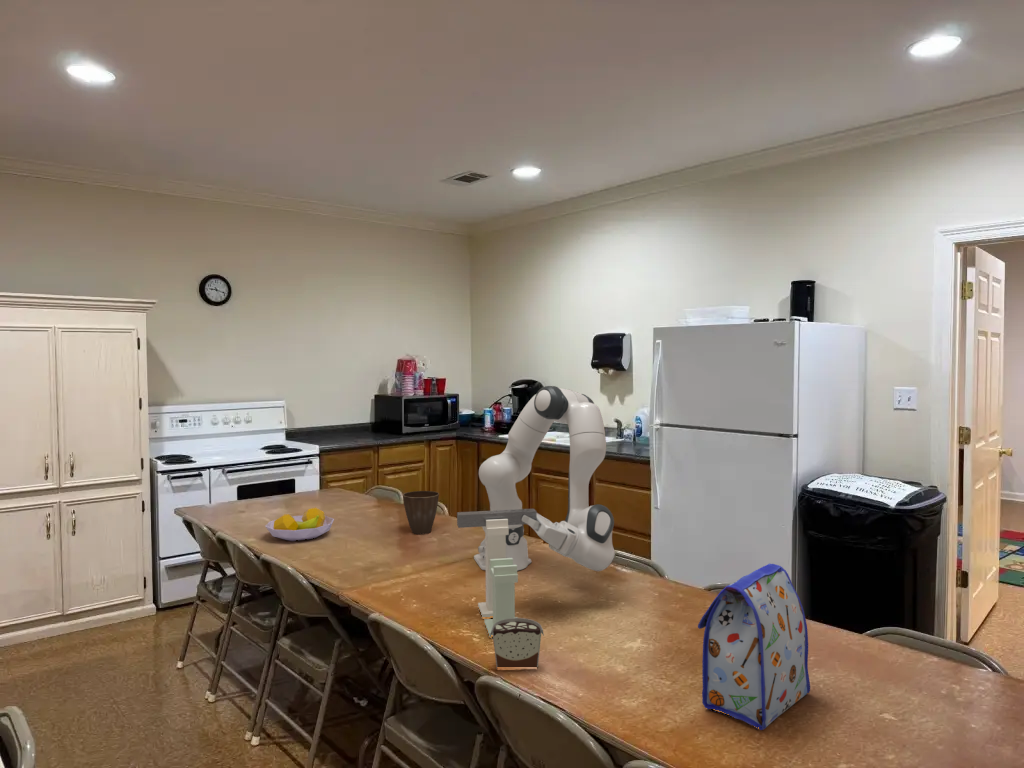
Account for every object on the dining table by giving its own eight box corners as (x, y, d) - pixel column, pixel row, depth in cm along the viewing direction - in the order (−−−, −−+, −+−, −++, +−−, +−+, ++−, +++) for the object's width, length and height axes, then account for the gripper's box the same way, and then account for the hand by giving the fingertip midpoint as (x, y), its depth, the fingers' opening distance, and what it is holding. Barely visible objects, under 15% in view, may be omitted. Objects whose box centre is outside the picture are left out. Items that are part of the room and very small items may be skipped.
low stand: (517, 622, 184) (516, 556, 183) (524, 635, 175) (523, 566, 174) (484, 625, 182) (483, 558, 182) (489, 638, 173) (488, 568, 173)
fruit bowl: (262, 533, 283) (261, 506, 282) (328, 526, 294) (328, 500, 294) (269, 550, 257) (268, 520, 257) (341, 541, 269) (341, 513, 268)
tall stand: (508, 605, 197) (508, 512, 196) (514, 617, 188) (513, 520, 187) (478, 607, 195) (477, 514, 194) (482, 619, 186) (481, 521, 185)
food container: (542, 658, 162) (541, 616, 162) (544, 669, 156) (543, 626, 155) (490, 659, 162) (489, 617, 161) (490, 671, 155) (489, 627, 155)
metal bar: (533, 520, 194) (533, 508, 194) (536, 523, 191) (536, 511, 191) (457, 524, 190) (457, 512, 190) (458, 527, 187) (458, 515, 187)
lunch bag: (739, 669, 155) (739, 553, 154) (814, 693, 144) (815, 567, 143) (690, 707, 139) (690, 577, 138) (770, 737, 127) (771, 595, 126)
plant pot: (400, 529, 287) (400, 491, 286) (435, 526, 291) (435, 489, 291) (406, 538, 273) (405, 498, 272) (442, 535, 277) (442, 496, 276)
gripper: (558, 519, 205) (518, 498, 202) (576, 536, 184) (533, 513, 182) (548, 537, 204) (508, 516, 202) (565, 557, 184) (522, 534, 182)
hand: (520, 515), depth 192 cm, fingers closed on metal bar, 3 cm apart
